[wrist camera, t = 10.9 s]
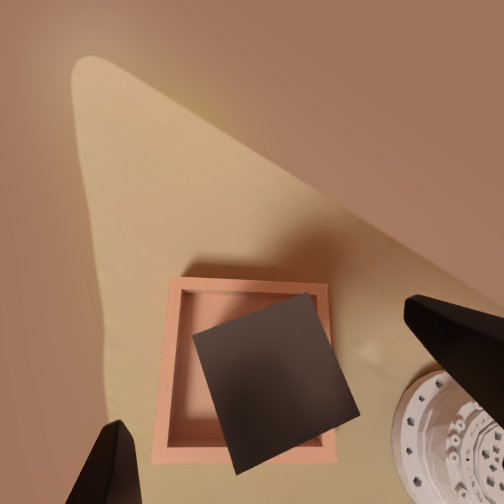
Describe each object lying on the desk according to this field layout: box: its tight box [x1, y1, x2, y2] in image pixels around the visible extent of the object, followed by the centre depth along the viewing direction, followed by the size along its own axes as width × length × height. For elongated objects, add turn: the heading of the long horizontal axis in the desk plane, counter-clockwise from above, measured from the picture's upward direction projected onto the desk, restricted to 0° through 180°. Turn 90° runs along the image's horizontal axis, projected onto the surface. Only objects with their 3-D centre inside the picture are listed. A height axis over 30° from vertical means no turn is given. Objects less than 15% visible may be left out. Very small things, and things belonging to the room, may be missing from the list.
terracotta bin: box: [151, 276, 337, 464], centre depth 21 cm, size 11×11×2 cm
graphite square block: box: [192, 292, 360, 475], centre depth 16 cm, size 4×4×11 cm
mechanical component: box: [392, 370, 504, 504], centre depth 20 cm, size 10×4×10 cm
